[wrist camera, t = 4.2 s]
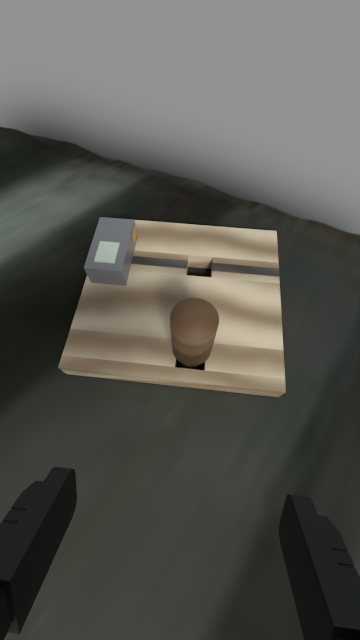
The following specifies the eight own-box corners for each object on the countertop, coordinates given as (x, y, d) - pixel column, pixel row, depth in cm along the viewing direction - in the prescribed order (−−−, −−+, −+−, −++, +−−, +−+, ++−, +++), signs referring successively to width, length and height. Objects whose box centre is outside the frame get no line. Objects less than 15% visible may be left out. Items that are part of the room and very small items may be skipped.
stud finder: (126, 286, 35) (121, 270, 32) (90, 282, 35) (82, 267, 32) (137, 236, 38) (134, 218, 35) (105, 234, 38) (99, 216, 36)
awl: (206, 380, 32) (217, 344, 22) (171, 376, 32) (166, 338, 22) (208, 347, 34) (220, 299, 24) (175, 344, 34) (173, 295, 24)
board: (278, 397, 31) (286, 392, 29) (66, 373, 32) (57, 367, 30) (271, 243, 41) (276, 230, 38) (109, 230, 42) (104, 217, 40)
